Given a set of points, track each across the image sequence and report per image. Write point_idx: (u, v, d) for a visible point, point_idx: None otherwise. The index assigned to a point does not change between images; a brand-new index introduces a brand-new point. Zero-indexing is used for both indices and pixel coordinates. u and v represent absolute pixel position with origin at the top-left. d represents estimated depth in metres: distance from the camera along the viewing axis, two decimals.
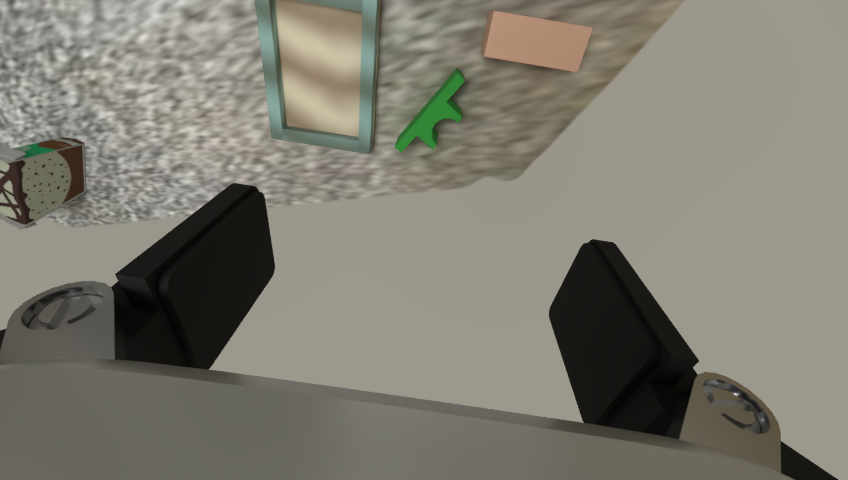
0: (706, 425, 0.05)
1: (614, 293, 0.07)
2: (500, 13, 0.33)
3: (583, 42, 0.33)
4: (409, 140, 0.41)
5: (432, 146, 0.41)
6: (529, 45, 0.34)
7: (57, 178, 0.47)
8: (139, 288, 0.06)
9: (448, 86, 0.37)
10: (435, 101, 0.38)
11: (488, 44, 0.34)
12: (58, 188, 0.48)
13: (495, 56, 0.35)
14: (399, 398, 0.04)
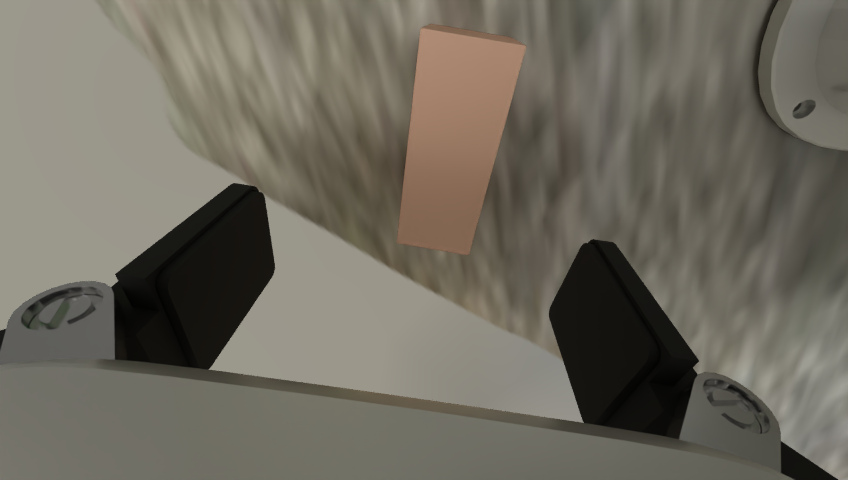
0: (706, 425, 0.05)
1: (614, 293, 0.07)
2: (517, 65, 0.13)
3: (446, 244, 0.18)
4: None
5: None
6: (444, 147, 0.15)
7: None
8: (139, 288, 0.06)
9: None
10: None
11: (449, 38, 0.12)
12: None
13: (421, 63, 0.13)
14: (399, 398, 0.04)
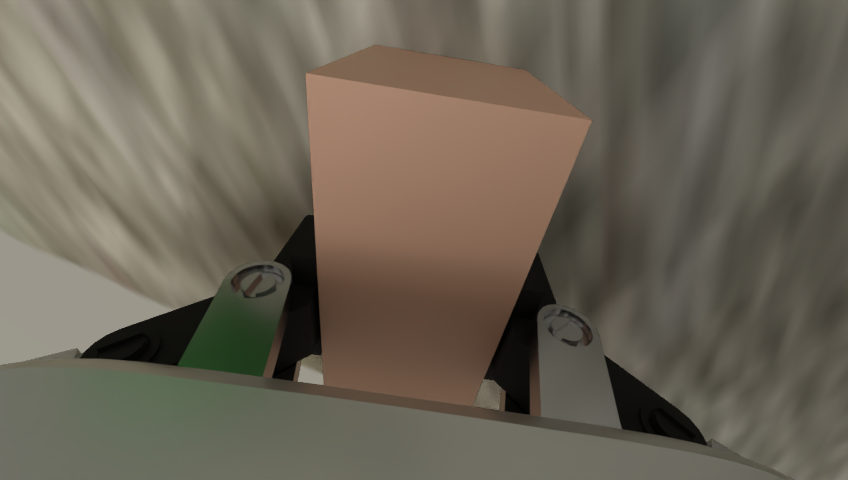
0: (554, 357, 0.06)
1: None
2: (564, 165, 0.05)
3: None
4: None
5: None
6: (396, 310, 0.07)
7: None
8: (306, 266, 0.07)
9: None
10: None
11: (387, 99, 0.05)
12: None
13: (321, 156, 0.05)
14: (399, 398, 0.04)
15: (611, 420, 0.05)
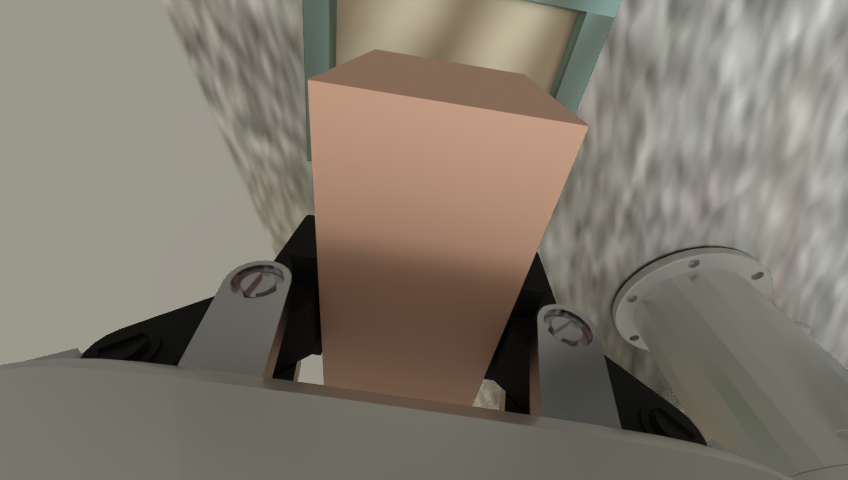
0: (554, 357, 0.06)
1: None
2: (562, 169, 0.05)
3: None
4: None
5: None
6: (396, 312, 0.07)
7: None
8: (306, 267, 0.07)
9: None
10: None
11: (387, 105, 0.05)
12: None
13: (322, 161, 0.05)
14: (399, 398, 0.04)
15: (611, 420, 0.05)
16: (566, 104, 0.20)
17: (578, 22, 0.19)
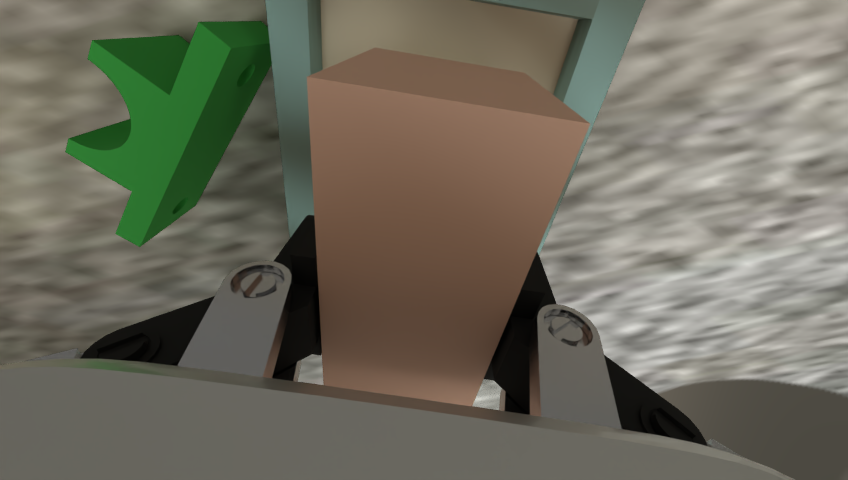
0: (554, 357, 0.06)
1: None
2: (563, 168, 0.05)
3: None
4: (186, 75, 0.12)
5: (98, 53, 0.11)
6: (396, 311, 0.07)
7: None
8: (306, 267, 0.07)
9: (147, 224, 0.15)
10: (160, 192, 0.14)
11: (387, 103, 0.05)
12: None
13: (322, 159, 0.05)
14: (399, 398, 0.04)
15: (611, 420, 0.05)
16: None
17: None
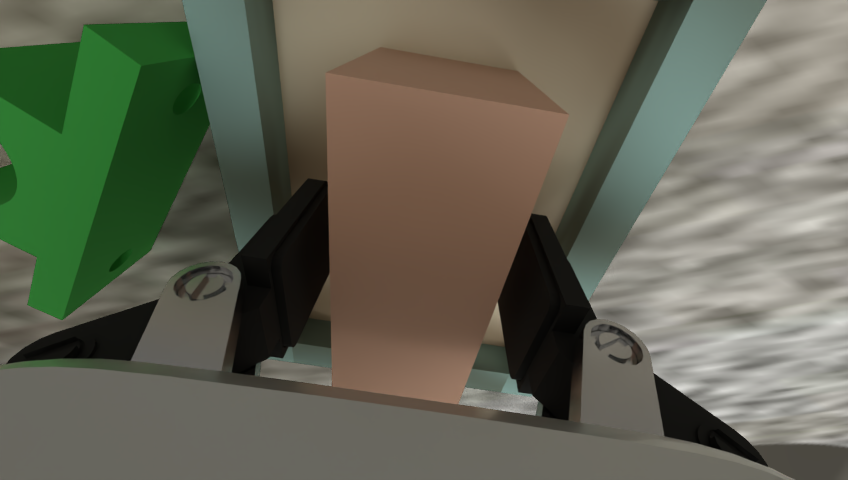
0: (599, 371, 0.06)
1: (534, 256, 0.08)
2: (546, 153, 0.06)
3: None
4: (81, 106, 0.08)
5: None
6: (399, 286, 0.08)
7: None
8: (259, 268, 0.07)
9: (65, 296, 0.11)
10: (75, 259, 0.10)
11: (394, 95, 0.05)
12: None
13: (336, 145, 0.06)
14: (399, 398, 0.04)
15: None
16: None
17: (497, 356, 0.16)
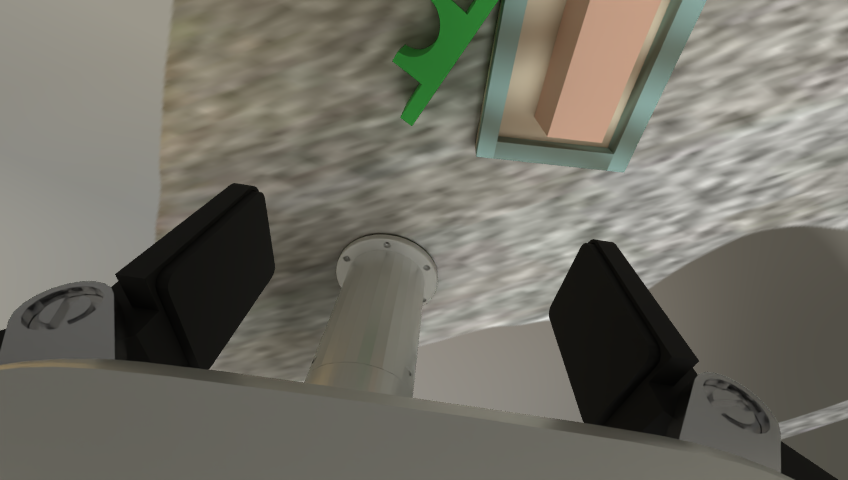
0: (706, 425, 0.05)
1: (614, 293, 0.07)
2: None
3: (585, 135, 0.24)
4: (481, 0, 0.21)
5: None
6: (601, 51, 0.21)
7: None
8: (139, 288, 0.06)
9: (422, 108, 0.25)
10: (438, 83, 0.24)
11: None
12: None
13: None
14: (399, 398, 0.04)
15: None
16: (556, 157, 0.29)
17: (604, 149, 0.29)
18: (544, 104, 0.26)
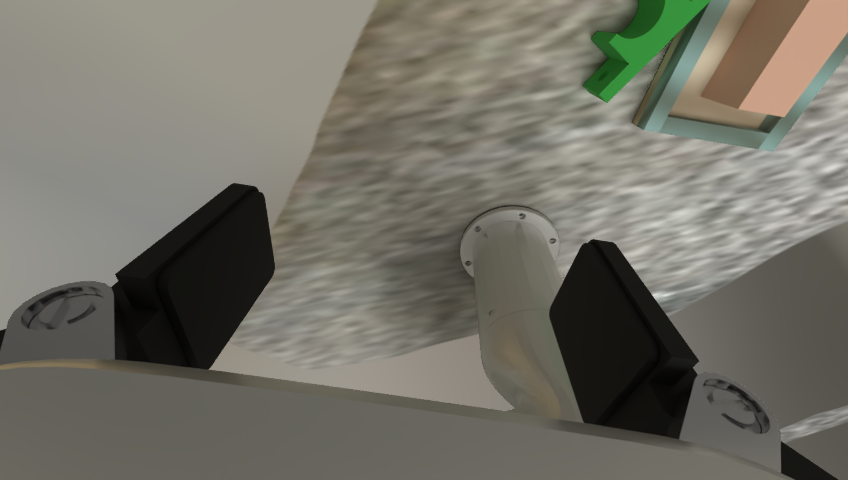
0: (706, 425, 0.05)
1: (614, 293, 0.07)
2: None
3: (772, 109, 0.27)
4: None
5: None
6: (812, 32, 0.24)
7: None
8: (139, 288, 0.06)
9: (622, 85, 0.28)
10: (645, 62, 0.27)
11: None
12: None
13: None
14: (399, 398, 0.04)
15: None
16: (717, 134, 0.32)
17: (757, 130, 0.32)
18: (724, 83, 0.29)
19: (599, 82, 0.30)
